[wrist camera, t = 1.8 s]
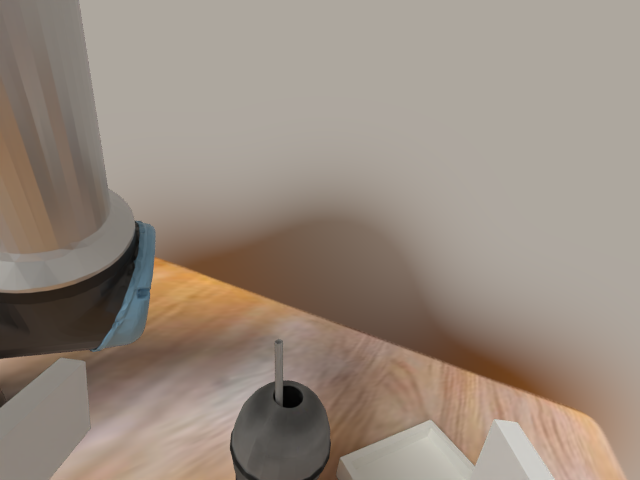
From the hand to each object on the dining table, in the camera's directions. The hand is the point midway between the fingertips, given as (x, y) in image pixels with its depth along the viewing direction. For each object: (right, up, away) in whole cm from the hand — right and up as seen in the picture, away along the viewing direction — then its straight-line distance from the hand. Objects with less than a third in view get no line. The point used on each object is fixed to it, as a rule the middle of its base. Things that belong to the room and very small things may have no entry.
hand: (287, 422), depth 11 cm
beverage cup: (-4, -20, +17) cm, 26 cm away
